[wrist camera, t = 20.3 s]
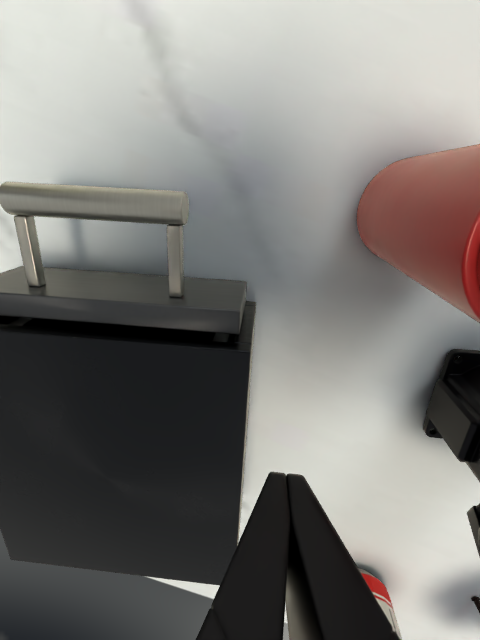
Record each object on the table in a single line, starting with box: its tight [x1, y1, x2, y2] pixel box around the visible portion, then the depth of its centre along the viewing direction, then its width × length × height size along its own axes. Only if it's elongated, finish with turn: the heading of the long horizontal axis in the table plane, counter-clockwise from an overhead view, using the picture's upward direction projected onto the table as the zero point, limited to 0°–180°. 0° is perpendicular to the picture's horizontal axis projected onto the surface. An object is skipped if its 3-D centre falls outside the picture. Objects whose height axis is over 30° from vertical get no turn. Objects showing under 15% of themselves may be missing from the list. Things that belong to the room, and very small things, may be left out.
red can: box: [357, 144, 480, 323], centre depth 13 cm, size 5×5×11 cm
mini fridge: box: [0, 301, 256, 585], centre depth 21 cm, size 17×15×7 cm
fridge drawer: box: [0, 182, 247, 343], centre depth 19 cm, size 20×13×5 cm, turn 177°
